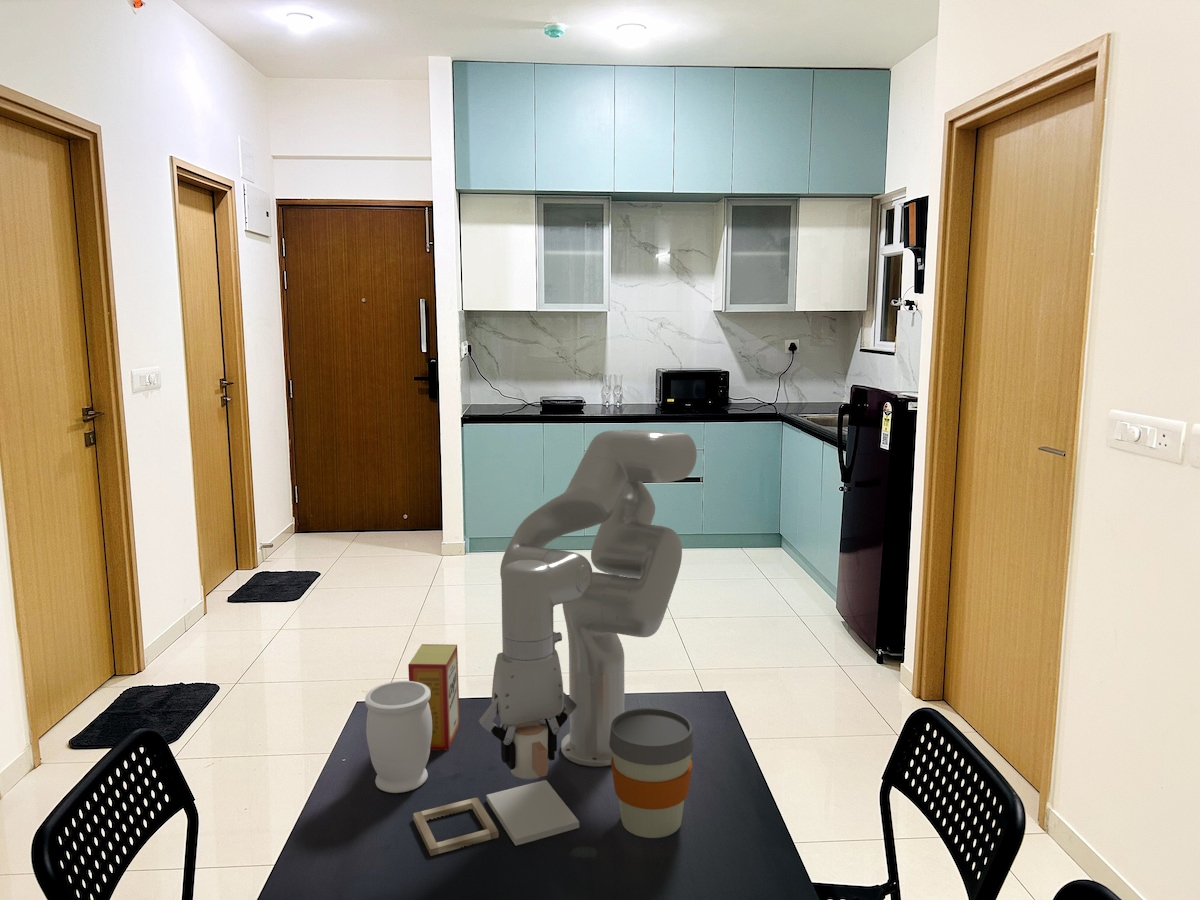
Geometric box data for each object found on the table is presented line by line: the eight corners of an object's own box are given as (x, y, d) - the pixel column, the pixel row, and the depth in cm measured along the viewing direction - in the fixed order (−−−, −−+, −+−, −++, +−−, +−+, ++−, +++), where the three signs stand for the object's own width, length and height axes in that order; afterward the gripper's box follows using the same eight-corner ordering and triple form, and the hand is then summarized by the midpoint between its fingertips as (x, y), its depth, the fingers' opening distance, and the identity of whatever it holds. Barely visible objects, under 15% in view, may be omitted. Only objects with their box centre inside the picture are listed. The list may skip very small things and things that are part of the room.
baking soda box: (424, 724, 160) (421, 642, 158) (459, 725, 160) (457, 642, 158) (411, 749, 151) (408, 662, 149) (448, 750, 151) (445, 663, 148)
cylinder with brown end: (505, 765, 131) (504, 722, 130) (539, 757, 133) (539, 714, 132) (525, 791, 124) (524, 745, 123) (561, 782, 126) (560, 737, 125)
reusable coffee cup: (619, 850, 122) (619, 751, 120) (602, 802, 134) (601, 711, 132) (704, 839, 124) (705, 742, 122) (679, 793, 137) (680, 703, 134)
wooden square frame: (477, 803, 134) (477, 797, 134) (498, 837, 125) (498, 831, 125) (413, 819, 130) (413, 813, 130) (430, 856, 121) (430, 849, 121)
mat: (545, 785, 139) (545, 779, 139) (579, 827, 128) (579, 821, 127) (486, 800, 135) (486, 794, 135) (515, 845, 123) (515, 839, 123)
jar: (418, 801, 135) (414, 710, 133) (357, 794, 137) (352, 705, 135) (443, 766, 145) (440, 682, 143) (386, 761, 147) (382, 677, 145)
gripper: (571, 628, 134) (571, 738, 137) (464, 645, 127) (466, 762, 129) (591, 644, 127) (591, 759, 130) (479, 663, 120) (482, 785, 123)
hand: (529, 759), depth 130 cm, fingers closed on cylinder with brown end, 5 cm apart
